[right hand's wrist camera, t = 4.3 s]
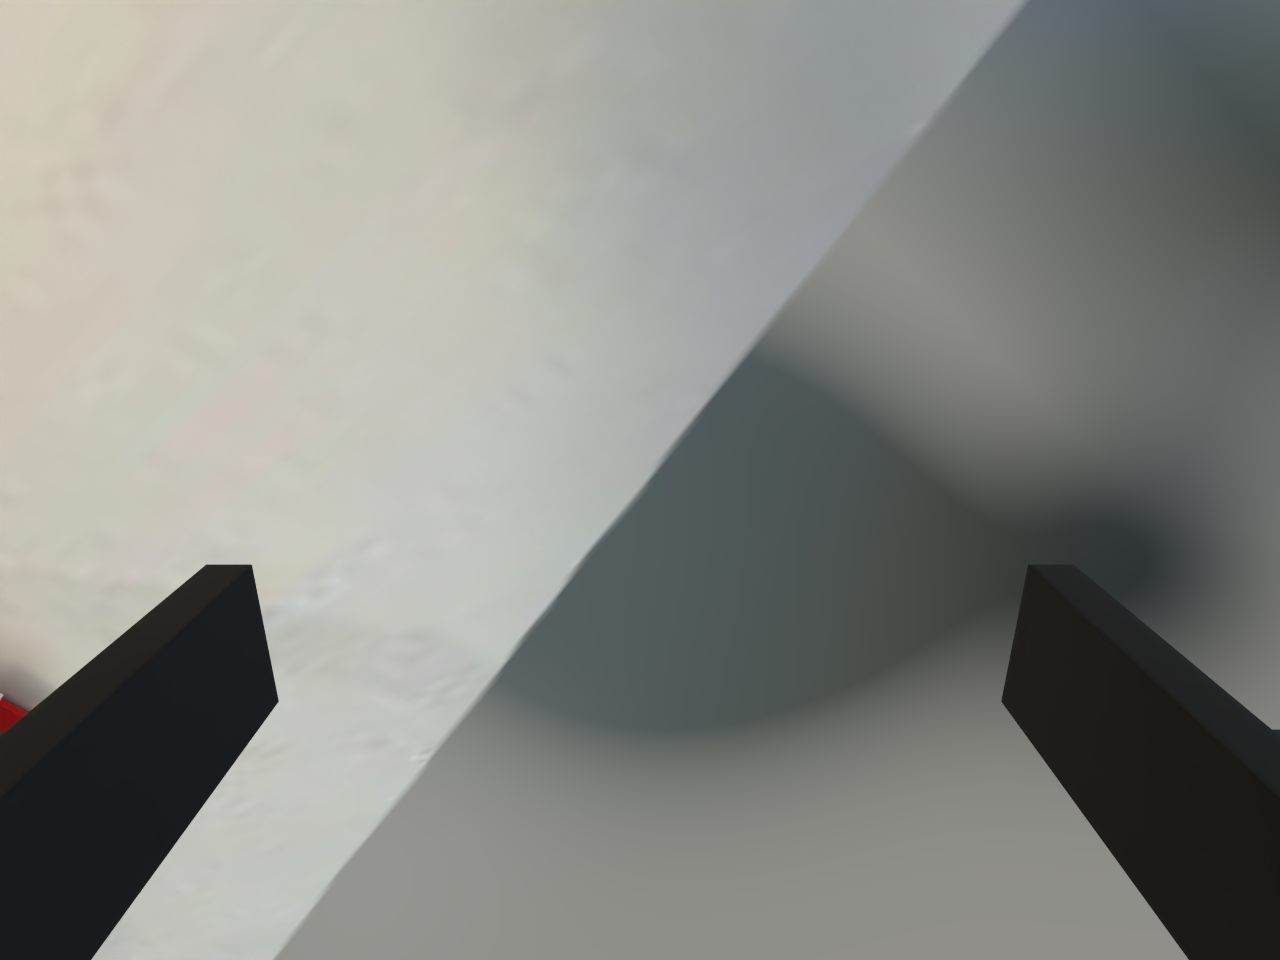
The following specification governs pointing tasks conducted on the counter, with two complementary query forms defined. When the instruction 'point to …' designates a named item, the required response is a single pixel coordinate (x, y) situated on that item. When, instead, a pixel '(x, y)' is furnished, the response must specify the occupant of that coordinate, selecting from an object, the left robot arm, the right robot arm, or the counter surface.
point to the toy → (9, 714)
